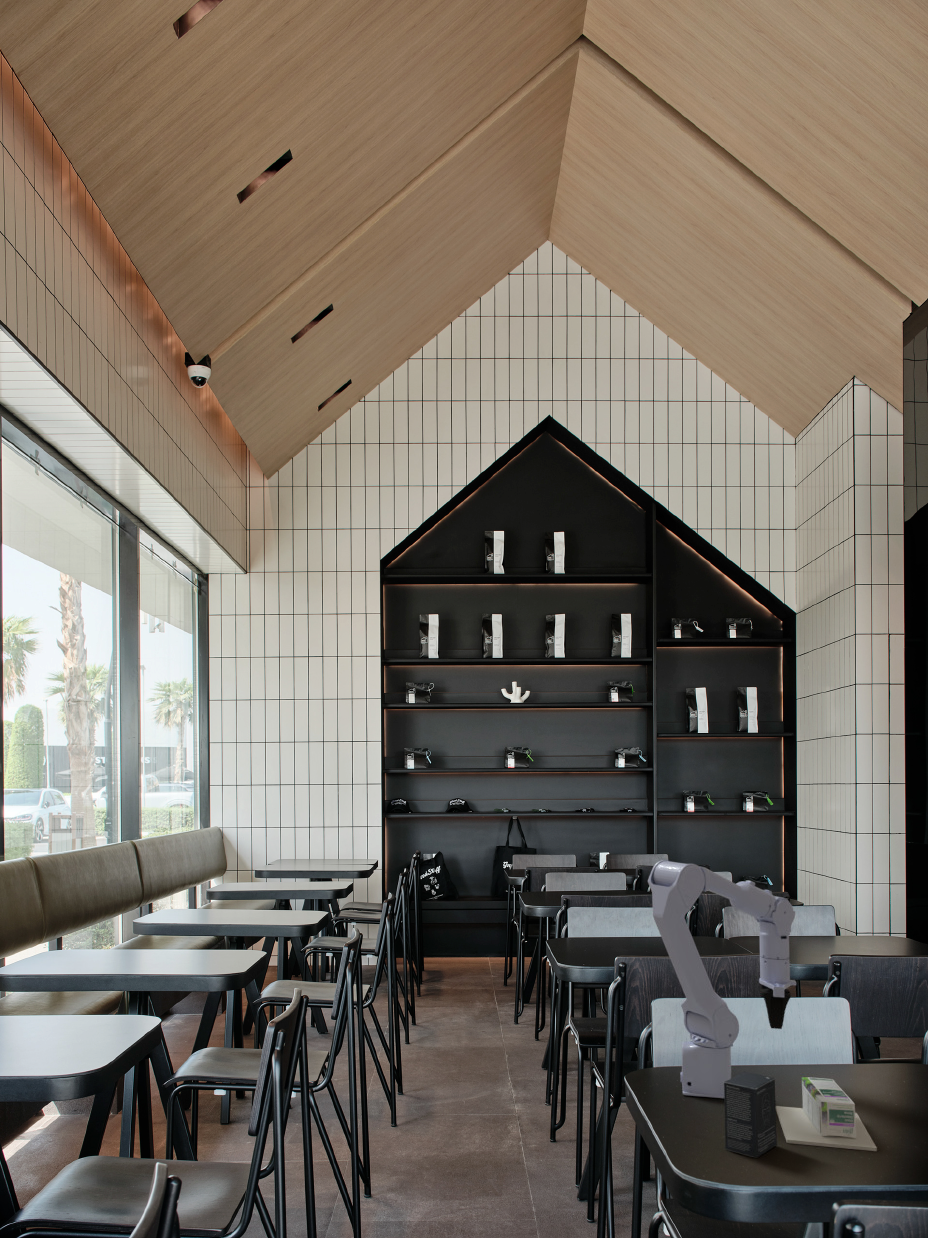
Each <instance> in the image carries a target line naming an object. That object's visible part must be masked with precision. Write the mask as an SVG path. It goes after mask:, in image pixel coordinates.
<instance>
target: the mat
mask: <svg viewBox="0 0 928 1238" xmlns="http://www.w3.org/2000/svg"><path fill="white" fill-rule="evenodd" d="M776 1116H777V1117H778V1120H779V1124H780V1126H781V1128H782V1133H783V1135H784V1138H785V1139H784V1140H785V1141H786V1144H795V1145H807V1146H817V1147H827V1148H835V1149H836V1148H837V1149H838V1148H840V1149H847V1150H848V1149H849V1150H859V1151H860V1150H861V1151H871V1152H878V1147H877V1146H876V1144H875V1142H874V1141H873V1139H872V1137H871V1135H870V1134H869V1132H868V1130H867V1129H866V1127H865V1125H864V1122H862V1120H861V1118H860V1116H859V1114H858V1113H857V1112H855V1120H856V1139H854V1138H838V1137H830V1136H822V1135H821V1134H820V1132H819V1131H818V1129H817V1128H816V1127H815V1125H814V1124H813V1123H812V1121H811V1120H810V1118H809V1117H808V1116H807V1114H806V1113H805V1112H804V1110H803V1107H793V1106H792V1107H791V1106H781V1105H776Z"/></svg>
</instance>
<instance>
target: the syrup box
mask: <svg viewBox="0 0 928 1238" xmlns="http://www.w3.org/2000/svg"><path fill="white" fill-rule="evenodd" d="M801 1090H802V1091H801V1092H802V1095H801V1097H802V1108H803V1110H804V1112H805V1113H806V1114H807V1116H808V1117H809V1118H810V1120H811V1121H812V1123H813V1124H814V1125H815V1127H816V1128H817V1129H818V1131H819V1132H820V1134H821V1135H822V1136H830V1137H838V1138H854V1139H856V1120H855V1113H856V1104H855V1102H854V1101H853V1100H852V1099H851V1097H849V1095H848V1094H846V1092H845V1091H844V1090H843V1089H842V1088H841V1087H840V1086H839V1085H838V1083H836V1081H835V1080H834V1079H833V1078H823V1077H821V1078H820V1077H807V1076H806V1077H805V1076H804V1077H803V1076H801Z"/></svg>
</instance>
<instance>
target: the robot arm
mask: <svg viewBox="0 0 928 1238" xmlns="http://www.w3.org/2000/svg"><path fill="white" fill-rule="evenodd" d="M647 884H648V885H649V888H650V891H651V892H652V893H651V894H652V895H651V898H652V899H651V900H652V901H651V903H652V916H653V917H652V918H653V920H654V923H655V924H656V927H657V929H658V932H659V934H660V937H661V939H662V942H663V944H664V946H665V949H666V952H667V954H668V957H669V959H670V961H671V965H672V966H673V969H674V972H675V974H676V977H677V979H678V981H679V984H680V986H681V989H682V991H683V994H684V996H685V999H684V1000H683V1001H682V1003H681V1005H680V1007H681V1008H682V1011H683V1025H684V1027H685V1031H687V1032H688V1034H689V1039H690V1040H691V1041H688V1040H687V1041H683V1040H682V1042H681V1071H680V1073H679V1074H680V1083H681V1084H682V1085H681V1086H682V1087H681V1088H682V1090H681V1091H682V1095H684V1096H691V1097H692V1096H693V1097H705V1098H716V1099H724V1082H725V1081H727V1080H729V1079H731V1078H732V1057H731V1056H732V1052H731V1049H732V1047H734V1042H735V1041H736V1040H737V1039H738V1036H739V1032H740V1024H739V1019H738V1018H737V1016H736V1014H734V1012H732V1011H731V1010H730V1009H729V1007H728V1004H727V1002H726V1000H724V999H723V998H722V997H721V996H719V995H718V994H717V992H716V991H715V990H714V988H713V986H712V982H711V980H710V978H709V975H708V972H707V971H706V968H705V966H704V962H703V960H702V958H701V956H700V953H699V950H698V949H697V946H696V943H695V940H694V938H693V936H692V934H691V931H690V928H689V926H688V924H687V920H686V919H685V917H686V914H687V913H689V911H690V910H691V908H692V907H693V906H694V905H695V903H696V901H697V899H699V897H700V896H701V894H702V892H704V893H705V892H711V893H713V894H716V895H718V896H721V897H723V898H726V899H728V900H729V903H730V905H731V907H732V908H733V909H735V910H737V911H740V912H741V913H744V914H745V915H748V916H750V917H753V918H754V920H755V922H757V923H758V924H759V926H758V927H759V929H758V930H759V932H758V933H759V972H760V973H759V975H760V976H759V979H758V983H759V984H761V985H762V986H764V987H767V988H760V989H759V991H760V993H761V995H762V997H763V1000H764V1002H765V1007H766V1011H767V1018H768V1024H769V1026H770V1028H771V1029H775V1030H776V1029H777V1030H782V1028H783V1025H784V1020H785V1013H786V1010H787V1009H786V1008H787V1006H788V1003H789V1001H790V999H791V996H792V994H791V993H790V990H789V989H788V988H790V987H791V986H797V981H796V980H795V979H791V976H790V975H791V974H790V973H791V971H790V969H791V968H790V966H791V965H790V934H791V932H792V924H793V923H794V920H795V917H796V911H794V907H793V905H792V904H791V902H790V901H789V900H788V899H787V898H786V897H781V896H777V895H776V896H775V895H773V892H772V890H769V889H761V888H759V887H757V886H756V882H754V881H752V880H745V881H738V882H737V883H734V882H732V881H731V880H729V879H727V878H726V877H723V876H721V875H720V874H718V873H717V872H714V871H712V870H710V869H708V868H707V867H704V866H699V865H697V864H695V863H683V862H677V861H676V862H675V861H671V860H667V859H666V860H665V859H662V860H659V861H657V862H656V863H655V864H654V865H653V867H652V869H651V871H650V873H649V876H648V879H647Z"/></svg>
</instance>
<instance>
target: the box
mask: <svg viewBox="0 0 928 1238" xmlns="http://www.w3.org/2000/svg"><path fill="white" fill-rule="evenodd" d="M775 1082H776V1079H775V1077H772V1076H768V1075H761V1074H757V1073H753V1072H748V1071H744V1072H741V1073H740V1074H739V1073H738V1074H737V1075H736V1076H733V1077H731V1079H729V1080H727V1081H725V1082H724V1098H723V1099H724V1137H725V1138H724V1140H725V1141H724V1143H725V1149H726V1151H728V1152H733V1153H737V1154H741V1155H744V1156H747V1157H751V1158H755V1159H757V1158H759V1157H760V1156H762V1155H764V1154H765V1153H767V1152H769V1150H771V1149H772V1148H774V1147H776V1146H777V1145H778V1137H777V1135H778V1134H777V1132H778V1131H777V1112H776V1106H777V1105H776V1104H777V1103H776V1101H777V1100H776V1083H775Z"/></svg>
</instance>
